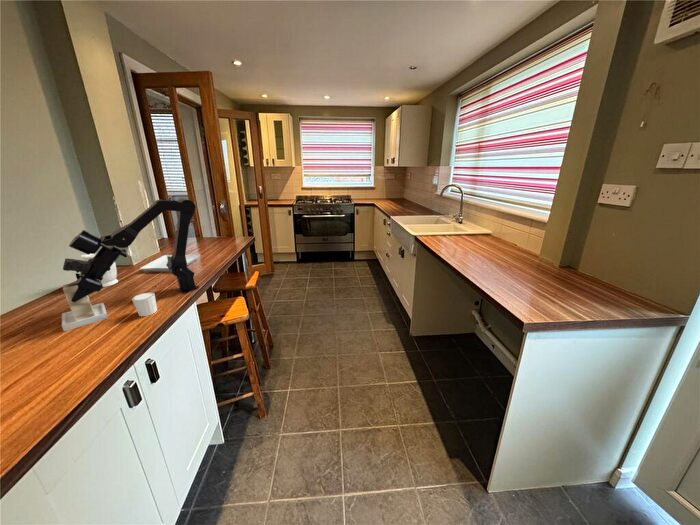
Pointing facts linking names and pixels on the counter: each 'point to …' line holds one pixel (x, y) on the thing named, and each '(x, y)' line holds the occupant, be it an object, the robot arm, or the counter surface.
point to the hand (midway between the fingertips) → (72, 298)
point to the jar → (109, 276)
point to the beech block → (78, 303)
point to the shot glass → (145, 303)
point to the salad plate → (162, 261)
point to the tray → (71, 323)
